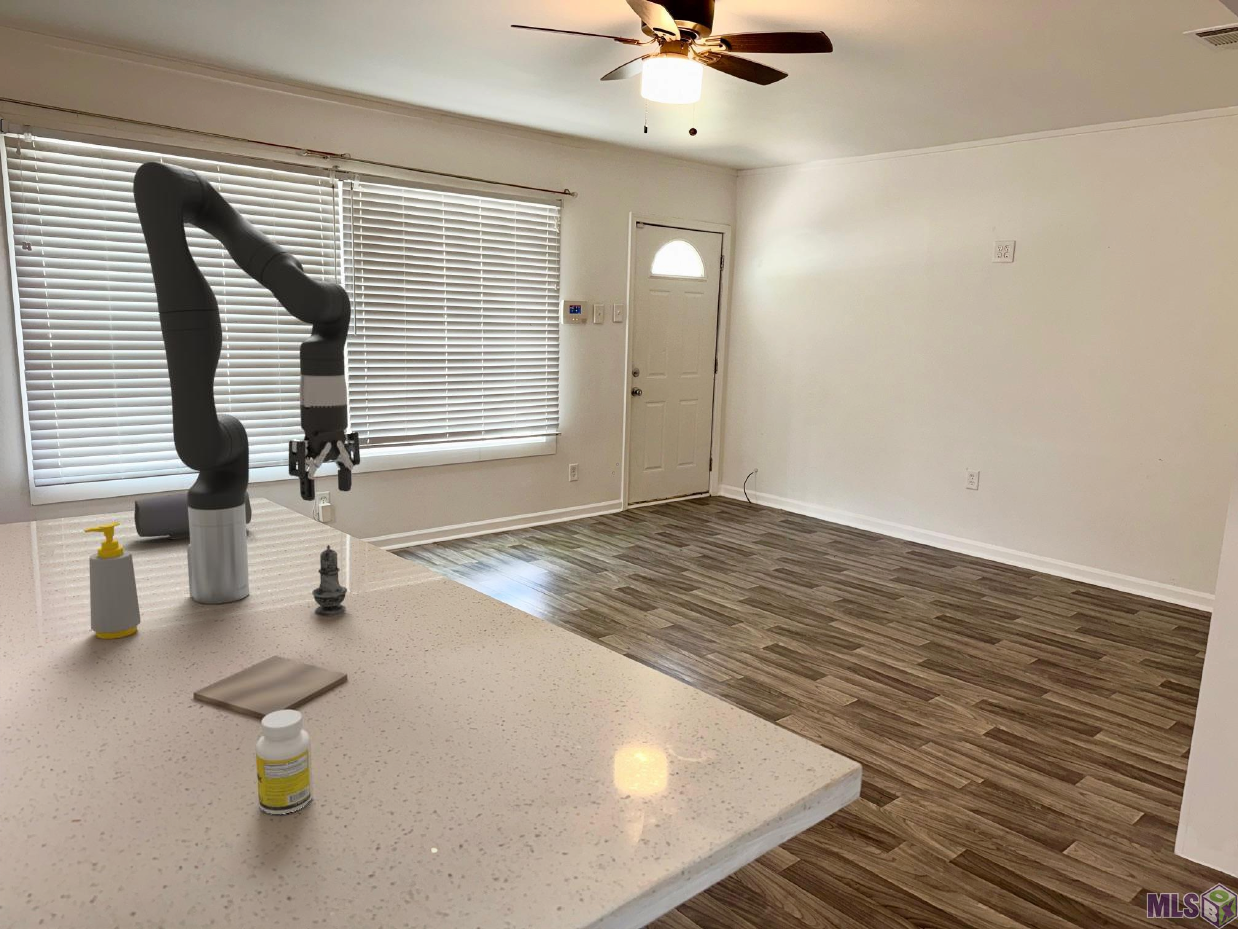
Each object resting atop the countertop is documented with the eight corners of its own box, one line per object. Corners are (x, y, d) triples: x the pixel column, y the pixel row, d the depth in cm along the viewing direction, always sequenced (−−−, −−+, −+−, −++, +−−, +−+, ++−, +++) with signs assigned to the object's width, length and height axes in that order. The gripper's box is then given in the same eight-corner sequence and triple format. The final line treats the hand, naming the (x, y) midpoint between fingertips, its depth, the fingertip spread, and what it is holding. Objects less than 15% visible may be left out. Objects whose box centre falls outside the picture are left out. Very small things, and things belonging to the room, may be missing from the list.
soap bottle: (81, 635, 130) (72, 525, 126) (125, 621, 136) (117, 516, 132) (107, 644, 126) (98, 532, 123) (150, 629, 133) (143, 523, 129)
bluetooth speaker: (241, 524, 199) (240, 484, 197) (253, 532, 192) (251, 491, 190) (135, 537, 184) (132, 494, 182) (143, 547, 177) (140, 502, 175)
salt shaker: (353, 605, 147) (351, 541, 145) (339, 617, 141) (337, 550, 139) (321, 603, 147) (319, 539, 145) (306, 615, 141) (304, 548, 139)
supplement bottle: (268, 788, 90) (264, 706, 89) (318, 787, 91) (315, 705, 89) (250, 817, 85) (246, 731, 83) (304, 816, 86) (301, 730, 84)
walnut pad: (193, 698, 110) (193, 692, 110) (275, 660, 123) (274, 655, 123) (270, 721, 105) (270, 716, 105) (347, 679, 117) (347, 674, 117)
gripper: (336, 397, 145) (339, 485, 148) (273, 403, 133) (278, 500, 135) (370, 399, 142) (372, 490, 145) (309, 406, 130) (312, 506, 132)
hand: (327, 495), depth 140 cm, fingers open, 8 cm apart
